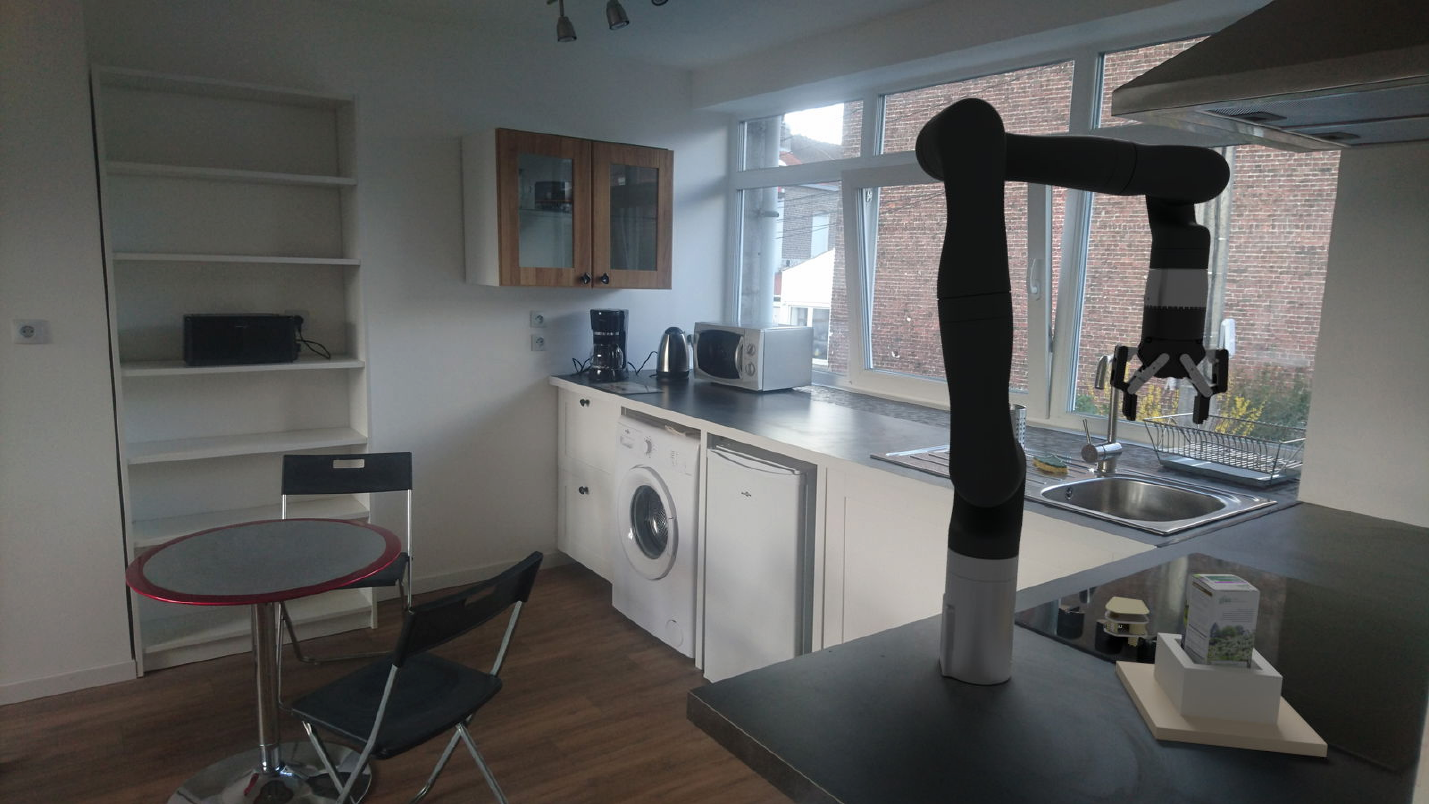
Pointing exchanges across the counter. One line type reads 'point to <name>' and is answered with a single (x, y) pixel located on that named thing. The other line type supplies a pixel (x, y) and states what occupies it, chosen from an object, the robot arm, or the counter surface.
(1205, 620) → the syrup box
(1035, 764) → the counter surface
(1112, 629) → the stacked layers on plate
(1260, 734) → the sleeve
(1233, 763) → the counter surface
